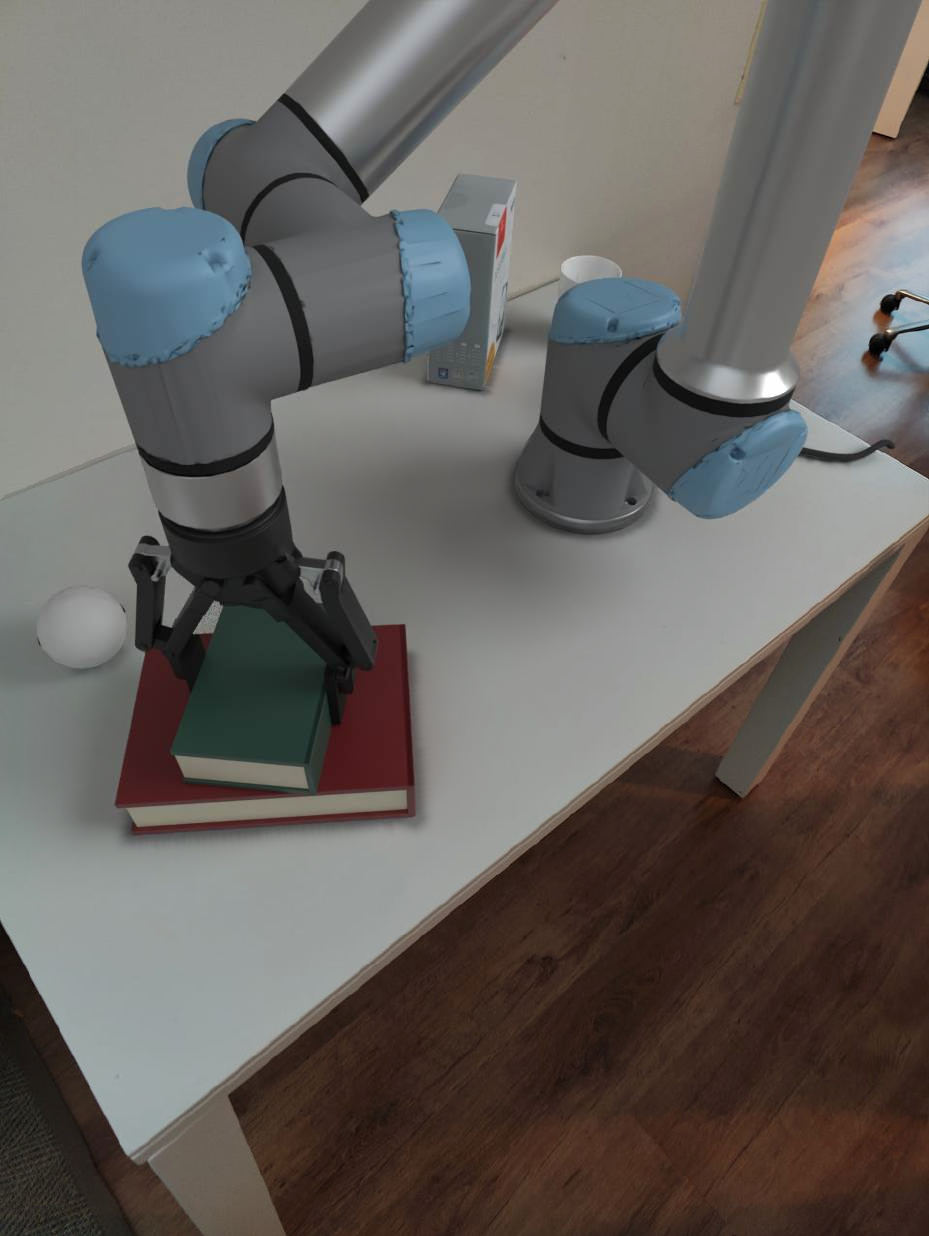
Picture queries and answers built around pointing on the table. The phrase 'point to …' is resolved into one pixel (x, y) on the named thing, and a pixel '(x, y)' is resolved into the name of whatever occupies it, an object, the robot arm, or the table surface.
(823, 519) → the table surface
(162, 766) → the big book
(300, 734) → the small book
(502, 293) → the hard drive box
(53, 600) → the white smooth round ovoid
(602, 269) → the white cup
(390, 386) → the table surface
